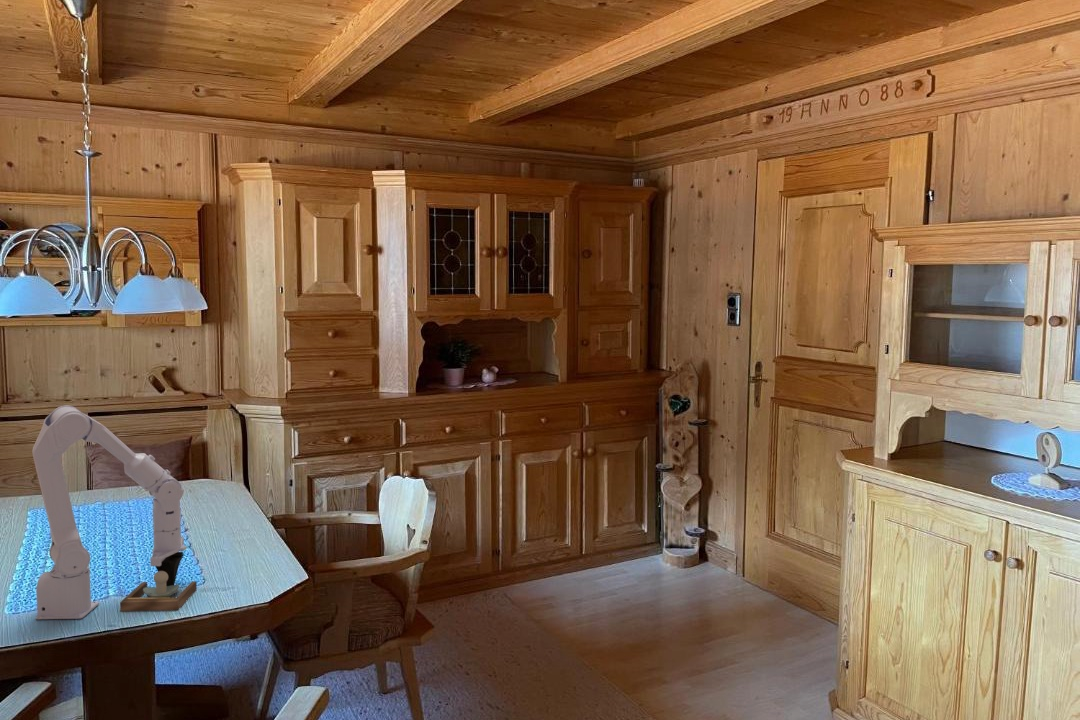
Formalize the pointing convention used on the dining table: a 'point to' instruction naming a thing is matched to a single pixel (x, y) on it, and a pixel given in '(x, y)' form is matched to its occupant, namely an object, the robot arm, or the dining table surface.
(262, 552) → the dining table surface
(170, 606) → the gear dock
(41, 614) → the robot arm
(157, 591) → the pacifier
